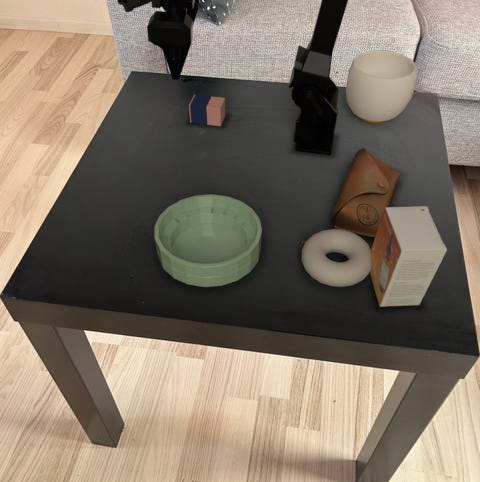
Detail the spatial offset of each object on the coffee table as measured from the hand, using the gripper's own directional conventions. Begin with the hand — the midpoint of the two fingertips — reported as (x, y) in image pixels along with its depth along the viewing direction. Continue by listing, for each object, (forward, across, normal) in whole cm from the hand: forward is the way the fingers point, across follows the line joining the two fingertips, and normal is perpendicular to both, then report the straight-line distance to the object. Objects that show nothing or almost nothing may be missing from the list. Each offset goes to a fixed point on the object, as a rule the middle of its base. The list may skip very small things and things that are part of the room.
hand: (178, 65), depth 80 cm
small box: (+10, +38, +33) cm, 51 cm away
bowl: (+11, +32, +7) cm, 35 cm away
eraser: (+12, -4, +5) cm, 13 cm away
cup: (+10, -6, +36) cm, 38 cm away
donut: (+11, +34, +25) cm, 44 cm away
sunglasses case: (+10, +19, +32) cm, 39 cm away
